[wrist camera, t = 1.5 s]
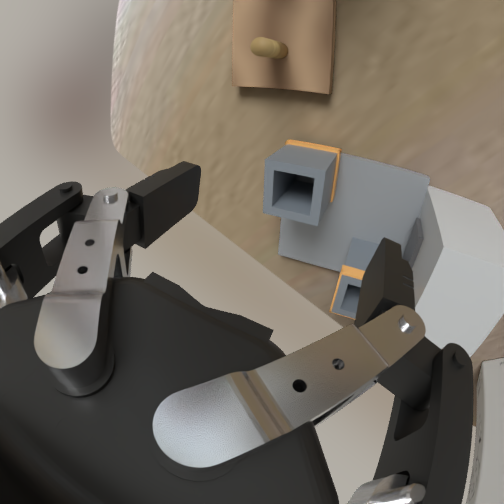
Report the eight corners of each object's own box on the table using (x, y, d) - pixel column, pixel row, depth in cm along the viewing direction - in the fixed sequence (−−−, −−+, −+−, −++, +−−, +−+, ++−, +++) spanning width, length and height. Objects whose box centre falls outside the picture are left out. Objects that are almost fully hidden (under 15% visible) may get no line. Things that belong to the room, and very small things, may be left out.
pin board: (334, -58, 13) (320, -83, 9) (331, 93, 24) (318, 96, 20) (241, -53, 17) (212, -70, 12) (238, 85, 27) (208, 89, 23)
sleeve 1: (341, 148, 26) (328, 168, 21) (334, 197, 29) (319, 228, 24) (289, 139, 28) (262, 156, 23) (286, 186, 31) (260, 214, 26)
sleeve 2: (396, 247, 29) (395, 288, 24) (383, 284, 32) (377, 326, 27) (351, 234, 31) (340, 272, 26) (341, 272, 34) (328, 312, 29)
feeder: (492, 198, 21) (532, 265, 13) (448, 297, 30) (452, 376, 21) (289, 143, 29) (236, 180, 20) (280, 250, 37) (238, 314, 28)
